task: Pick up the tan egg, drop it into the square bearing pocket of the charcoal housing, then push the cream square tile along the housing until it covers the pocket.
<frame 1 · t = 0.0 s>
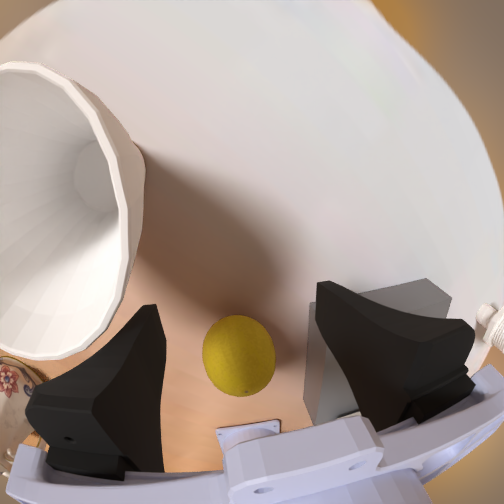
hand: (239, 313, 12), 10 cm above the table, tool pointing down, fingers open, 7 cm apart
chinaware: (34, 395, 25), on the table
cup: (108, 173, 19), on the table, touching gripper
cream square tile: (370, 432, 27), point 6 cm above the table, slide at 10.0 cm
pipe fitting: (480, 311, 33), on the table
housing: (365, 344, 29), on the table
lemon: (232, 322, 25), on the table
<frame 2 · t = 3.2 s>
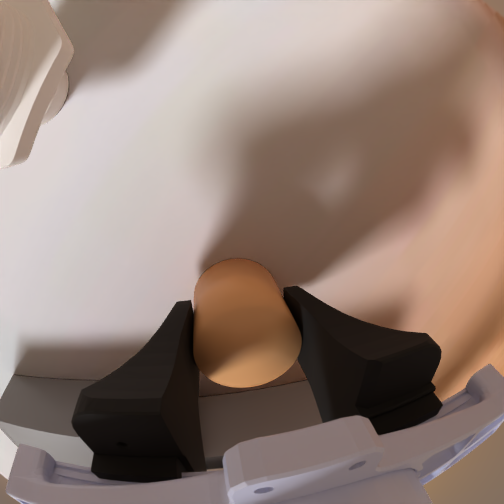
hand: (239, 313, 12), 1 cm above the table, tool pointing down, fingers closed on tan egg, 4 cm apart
cream square tile: (268, 499, 13), point 6 cm above the table, slide at 10.0 cm
pipe fitting: (43, 94, 9), on the table
housing: (125, 438, 17), on the table
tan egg: (235, 297, 14), on the table, touching gripper
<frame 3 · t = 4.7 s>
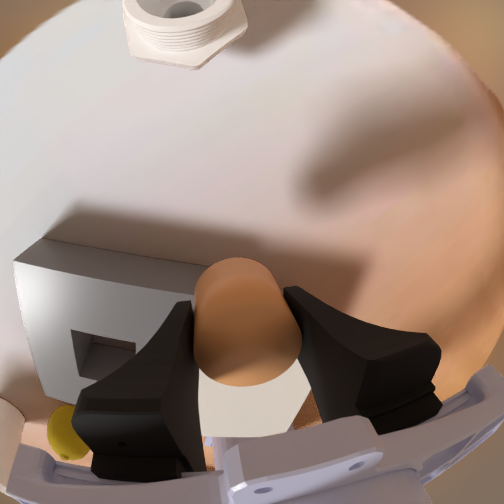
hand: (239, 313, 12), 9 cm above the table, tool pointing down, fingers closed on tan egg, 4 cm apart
cup: (9, 409, 25), on the table
cream square tile: (237, 394, 19), point 6 cm above the table, slide at 10.0 cm
pipe fitting: (187, 40, 15), on the table
housing: (116, 326, 22), on the table
lemon: (78, 405, 26), on the table
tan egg: (236, 296, 14), point 8 cm above the table, touching gripper
when the fingers open (6 cm above the table, at t = 6.4 s): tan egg drops 5 cm, resting in housing.
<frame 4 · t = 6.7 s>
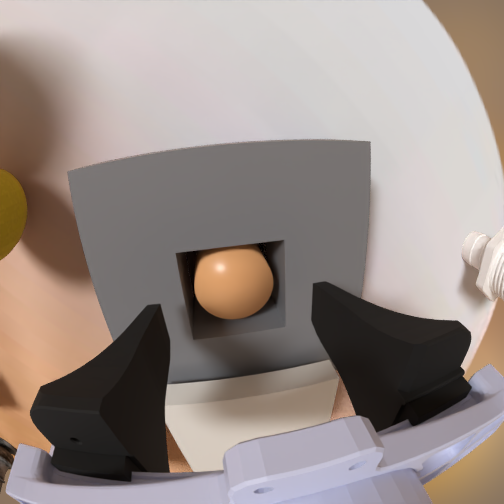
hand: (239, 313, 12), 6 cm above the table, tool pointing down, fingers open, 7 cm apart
cream square tile: (253, 431, 16), point 6 cm above the table, slide at 10.0 cm
pipe fitting: (469, 245, 22), on the table
housing: (227, 258, 18), on the table
salt shaker: (5, 444, 24), on the table
lemon: (18, 199, 14), on the table
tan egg: (227, 256, 18), resting in housing
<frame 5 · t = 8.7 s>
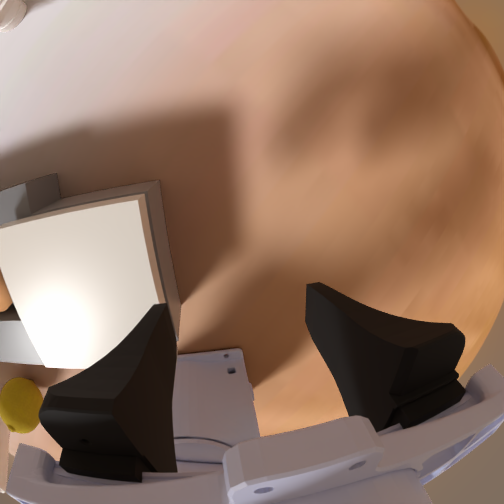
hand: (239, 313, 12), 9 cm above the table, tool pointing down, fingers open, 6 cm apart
cream square tile: (79, 296, 14), point 6 cm above the table, slide at 10.0 cm
pipe fitting: (14, 17, 10), on the table
housing: (15, 269, 19), on the table
lemon: (32, 379, 23), on the table
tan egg: (15, 268, 19), resting in housing
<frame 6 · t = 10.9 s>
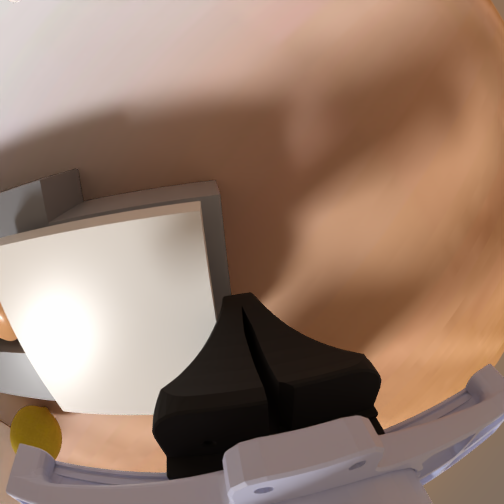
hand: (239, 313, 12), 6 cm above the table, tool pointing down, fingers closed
cup: (6, 430, 22), on the table
cream square tile: (107, 333, 11), point 6 cm above the table, slide at 9.2 cm, touching gripper
housing: (24, 286, 16), on the table
lemon: (46, 406, 20), on the table
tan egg: (23, 286, 16), resting in housing
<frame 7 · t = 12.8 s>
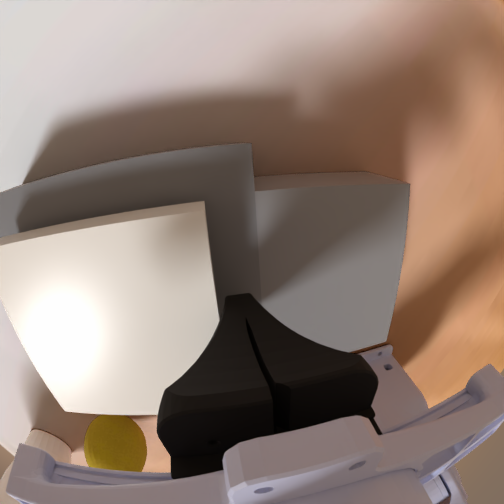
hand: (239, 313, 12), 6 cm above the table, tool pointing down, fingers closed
cup: (51, 441, 23), on the table
cream square tile: (110, 333, 11), point 6 cm above the table, slide at -0.1 cm, touching gripper
housing: (135, 273, 17), on the table
lemon: (121, 411, 22), on the table
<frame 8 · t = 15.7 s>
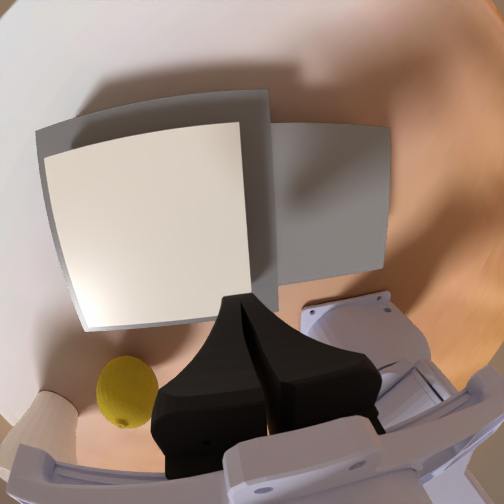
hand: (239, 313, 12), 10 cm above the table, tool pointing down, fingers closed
cup: (58, 404, 26), on the table
cream square tile: (148, 232, 14), point 6 cm above the table, slide at 0.0 cm
housing: (164, 206, 20), on the table
lemon: (134, 359, 25), on the table
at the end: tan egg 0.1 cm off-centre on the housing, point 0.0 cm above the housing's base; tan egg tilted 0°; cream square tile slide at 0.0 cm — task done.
